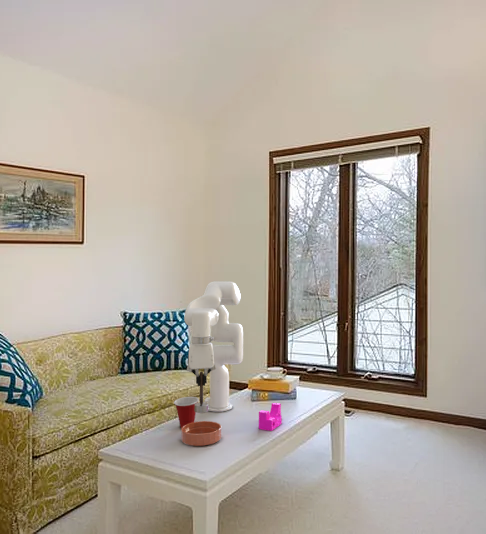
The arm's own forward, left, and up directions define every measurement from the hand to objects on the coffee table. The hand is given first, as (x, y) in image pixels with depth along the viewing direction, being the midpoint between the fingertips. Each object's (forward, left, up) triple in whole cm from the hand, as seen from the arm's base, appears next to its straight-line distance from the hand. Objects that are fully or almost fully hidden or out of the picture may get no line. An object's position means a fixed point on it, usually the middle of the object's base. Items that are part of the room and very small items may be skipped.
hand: (201, 384), depth 201 cm
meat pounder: (0, 0, -11) cm, 11 cm away
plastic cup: (-16, +9, -23) cm, 29 cm away
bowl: (0, 0, -23) cm, 23 cm away
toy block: (+16, +30, -23) cm, 41 cm away
